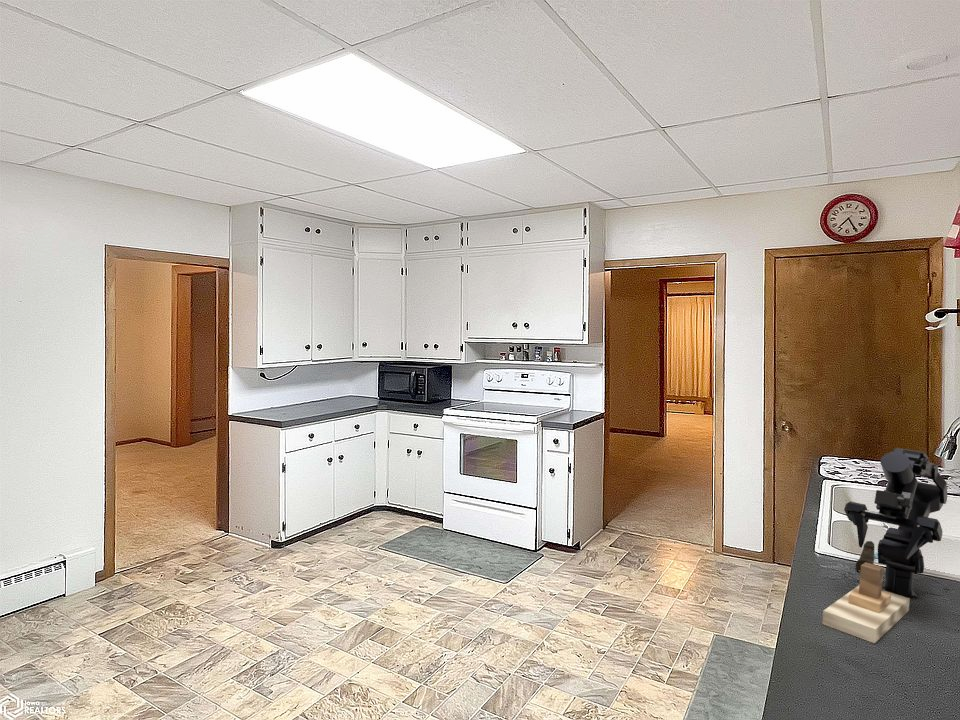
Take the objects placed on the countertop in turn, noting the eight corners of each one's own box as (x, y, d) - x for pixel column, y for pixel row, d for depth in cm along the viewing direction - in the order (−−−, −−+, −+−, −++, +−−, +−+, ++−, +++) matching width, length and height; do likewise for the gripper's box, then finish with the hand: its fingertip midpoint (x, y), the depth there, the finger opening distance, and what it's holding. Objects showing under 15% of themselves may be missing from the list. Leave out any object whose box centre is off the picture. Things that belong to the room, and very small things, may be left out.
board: (860, 595, 148) (861, 583, 148) (908, 610, 141) (909, 598, 141) (822, 624, 133) (823, 610, 133) (874, 643, 125) (875, 629, 125)
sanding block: (860, 593, 142) (863, 558, 142) (890, 603, 138) (893, 566, 137) (848, 602, 137) (851, 566, 136) (878, 613, 132) (881, 575, 132)
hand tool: (872, 577, 161) (874, 560, 161) (854, 572, 163) (856, 555, 163) (880, 557, 176) (882, 542, 175) (864, 553, 178) (865, 538, 178)
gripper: (848, 469, 149) (829, 524, 143) (941, 485, 135) (925, 547, 129) (858, 493, 155) (841, 547, 149) (948, 510, 141) (934, 571, 135)
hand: (882, 552), depth 140 cm, fingers open, 9 cm apart
